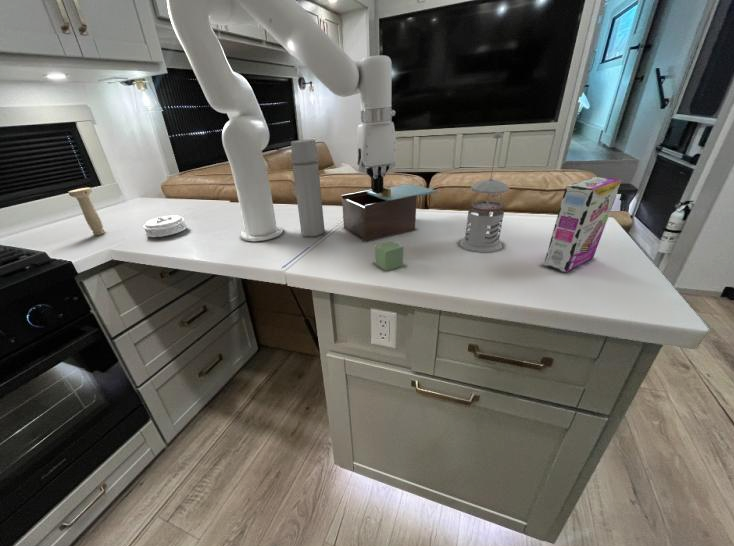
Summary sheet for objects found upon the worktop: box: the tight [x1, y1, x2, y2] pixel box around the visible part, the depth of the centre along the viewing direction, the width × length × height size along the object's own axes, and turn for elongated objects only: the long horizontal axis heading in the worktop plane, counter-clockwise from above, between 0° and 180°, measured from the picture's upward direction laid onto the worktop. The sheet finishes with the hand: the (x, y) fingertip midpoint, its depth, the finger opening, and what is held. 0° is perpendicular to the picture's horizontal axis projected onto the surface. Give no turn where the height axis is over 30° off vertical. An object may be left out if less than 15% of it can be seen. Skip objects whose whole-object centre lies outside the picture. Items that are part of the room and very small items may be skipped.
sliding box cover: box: [367, 183, 437, 201], centre depth 94 cm, size 13×15×3 cm
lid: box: [142, 214, 188, 238], centre depth 108 cm, size 13×13×5 cm
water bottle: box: [290, 138, 326, 238], centre depth 92 cm, size 9×8×25 cm
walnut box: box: [341, 186, 418, 242], centre depth 95 cm, size 14×16×10 cm
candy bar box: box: [543, 176, 623, 273], centre depth 65 cm, size 11×5×16 cm, turn 123°
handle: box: [67, 187, 105, 236], centre depth 111 cm, size 5×6×15 cm
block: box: [374, 240, 404, 272], centre depth 74 cm, size 5×5×5 cm
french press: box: [459, 131, 510, 253], centre depth 76 cm, size 10×12×25 cm
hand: (377, 192), depth 92 cm, fingers closed
